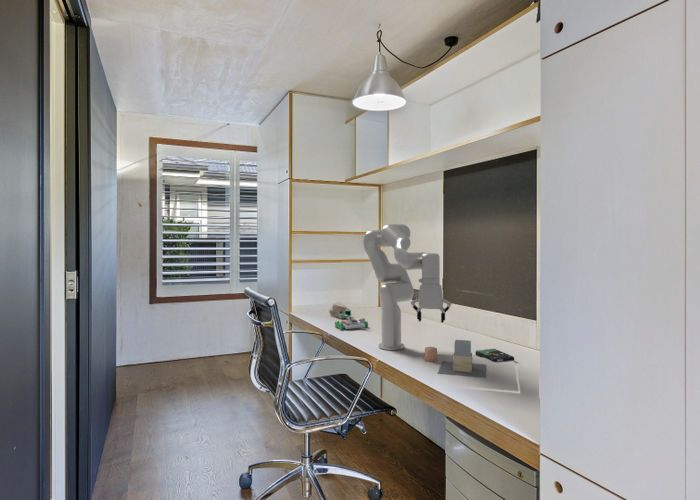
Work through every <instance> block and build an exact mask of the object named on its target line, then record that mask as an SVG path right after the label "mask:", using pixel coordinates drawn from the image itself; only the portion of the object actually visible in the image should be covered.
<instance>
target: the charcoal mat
mask: <svg viewBox="0 0 700 500" xmlns="http://www.w3.org/2000/svg"><path fill="white" fill-rule="evenodd" d="M487 366H488V365H487V364H483V363H472V371H471V372H462V371H453V361H448V360H447V361H444V360H442V362H441V364H440V366H439V369H438V372H437V373H436V374H438V375H446V376H447V375H449V376H459V377H461V376H462V377H470V378H471V377H472V378H479V379H481V378H482V379H486V378H487V377H486V376H487Z"/></svg>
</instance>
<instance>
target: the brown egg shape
mask: <svg viewBox="0 0 700 500" xmlns="http://www.w3.org/2000/svg"><path fill="white" fill-rule="evenodd" d="M424 361H425V362H428V363H436V362H437V361H438V348H437V347H434V346H427V347H426V346H425V347H424Z"/></svg>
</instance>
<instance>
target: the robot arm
mask: <svg viewBox="0 0 700 500" xmlns="http://www.w3.org/2000/svg"><path fill="white" fill-rule="evenodd" d="M410 238H411V230H410V228H409V226H407V225H406V224H400V223H398V224H396V223H395V224H394V223H393V224H392V223H390V224H389V223H388V224H385V225H384V226H383V227H382V229H379V230H378V229H376V230H375V229H374V230H369V231H367V232H366V233H365V234H364V236H363V241H362V242H363V248H364V252H365V254H366V255H367V256H368V259H369V261H370V263H371V265H372V266H371V267H372V269H373V271H374V274H375V277H376V279H377V281H378V282H379V283H383V284H382V285H381V286H380V288H379V292H378V295H379V298H380V299H379V300H380V306H381V307H380V308H381V342H380V343H379V344H378V348H380V349H382V350H385V351H398V350H403V349H404V348H405V343H402V310H401V307H400V306H399V304H398V303H401V302H408V301H410V305H411V307H412V309H413V310H414V311H416V314H417V315H416V318H417V320H418V322H421V321H422V311H421V310H422V309H426V310H428V309H429V310H439V311H441V313H440V318H441V319H440V323H444V321H446V312H448V311H449V309H450V308H451V306H452V303H453V302H451V301H449V300H447V299H445V298H444V294H443V287H442V285H441V281H440V280H441V277H440V275H441V274H440V273H441V271H440V270H441V269H440V266H441V265H440V264H441V263H440V260H441V259H440V255H439V254H438V253H436V252H435V253H434V252H425V251H424V252H423V251H421V252H418V251H417V252H408V249H409V248H410V246H411V244H412V243H411V239H410ZM382 247H383V248H385V247H390V248H391V247H392V248H393V256H394V259H395V261H396V262H397V263H391V262H390V261H389V259H388V256H387V254H386V253H385V252H384V250H382V249H381V248H382ZM408 270H409V271H413V270H421V278H419V279H418V283H421V284H420V285H419V290H418V298H416V299H414V300H412V299H413V297H414V294H415V291H414V287H413V284H412V281H411V279H410V277H409V273H408ZM416 303H418V306H417V305H416ZM444 303H445V305H447V306H446V307H445V308H444Z"/></svg>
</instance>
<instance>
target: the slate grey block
mask: <svg viewBox="0 0 700 500" xmlns="http://www.w3.org/2000/svg"><path fill="white" fill-rule="evenodd" d="M453 345H454V353H453V355H454V356H467V357H470V355H471V353H472V341H471V340H465V339H464V340H463V339H455V341H454V344H453Z"/></svg>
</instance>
